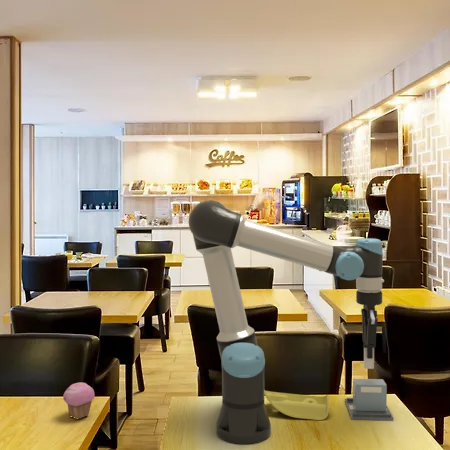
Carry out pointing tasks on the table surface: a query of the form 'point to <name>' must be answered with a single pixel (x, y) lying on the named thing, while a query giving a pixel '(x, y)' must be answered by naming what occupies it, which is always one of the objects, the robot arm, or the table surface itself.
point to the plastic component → (299, 405)
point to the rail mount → (367, 413)
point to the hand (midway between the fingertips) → (368, 367)
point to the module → (369, 394)
